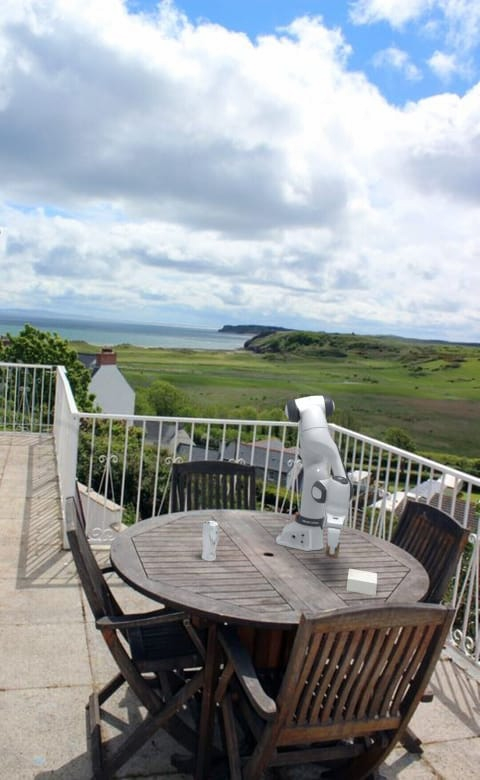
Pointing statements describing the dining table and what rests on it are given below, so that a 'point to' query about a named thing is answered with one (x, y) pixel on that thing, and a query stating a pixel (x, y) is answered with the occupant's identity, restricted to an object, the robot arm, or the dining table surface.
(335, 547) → the walnut cube
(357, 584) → the base block
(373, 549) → the dining table surface
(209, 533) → the white cylinder
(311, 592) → the dining table surface
